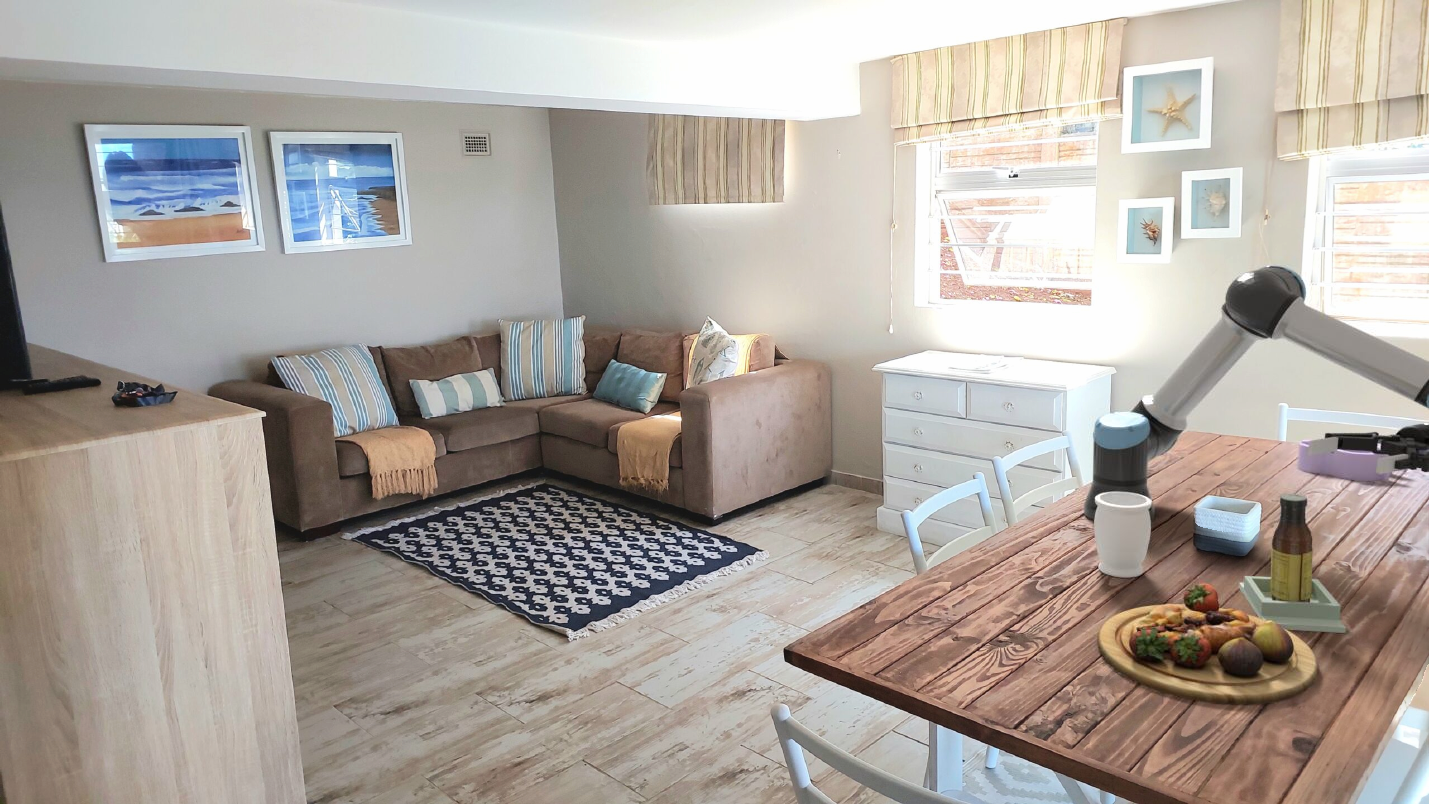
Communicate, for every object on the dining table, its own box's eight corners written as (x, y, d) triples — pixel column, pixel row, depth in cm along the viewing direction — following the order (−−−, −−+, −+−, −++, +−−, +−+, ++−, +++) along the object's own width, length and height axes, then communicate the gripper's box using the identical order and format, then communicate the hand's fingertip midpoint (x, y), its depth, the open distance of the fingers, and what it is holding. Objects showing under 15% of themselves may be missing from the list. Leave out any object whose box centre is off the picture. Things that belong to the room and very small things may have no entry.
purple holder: (1293, 473, 249) (1295, 447, 248) (1303, 462, 258) (1305, 437, 257) (1387, 484, 236) (1389, 457, 235) (1393, 472, 245) (1396, 446, 244)
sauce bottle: (1299, 595, 174) (1307, 490, 170) (1317, 610, 168) (1325, 501, 164) (1261, 596, 175) (1268, 491, 171) (1277, 610, 169) (1285, 502, 165)
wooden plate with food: (1133, 601, 179) (1134, 559, 177) (1335, 642, 158) (1337, 596, 156) (1067, 672, 156) (1067, 625, 154) (1294, 732, 135) (1296, 678, 133)
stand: (1265, 628, 165) (1266, 609, 164) (1239, 587, 182) (1240, 569, 181) (1345, 632, 161) (1347, 613, 161) (1310, 590, 178) (1312, 572, 178)
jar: (1154, 581, 186) (1157, 507, 183) (1098, 579, 189) (1100, 506, 186) (1142, 561, 197) (1144, 490, 194) (1088, 560, 199) (1090, 490, 196)
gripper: (1366, 410, 194) (1286, 422, 188) (1499, 438, 171) (1412, 453, 165) (1362, 446, 196) (1282, 459, 189) (1493, 479, 173) (1407, 495, 166)
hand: (1343, 456), depth 177 cm, fingers open, 13 cm apart
